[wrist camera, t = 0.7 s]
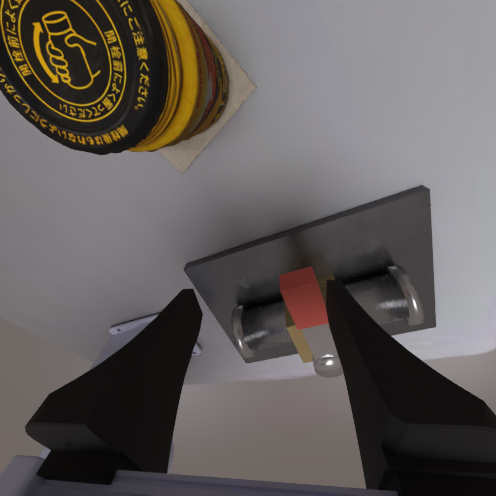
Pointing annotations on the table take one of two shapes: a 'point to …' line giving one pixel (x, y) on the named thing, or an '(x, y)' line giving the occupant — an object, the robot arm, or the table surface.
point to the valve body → (326, 274)
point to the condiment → (119, 75)
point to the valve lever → (311, 319)
